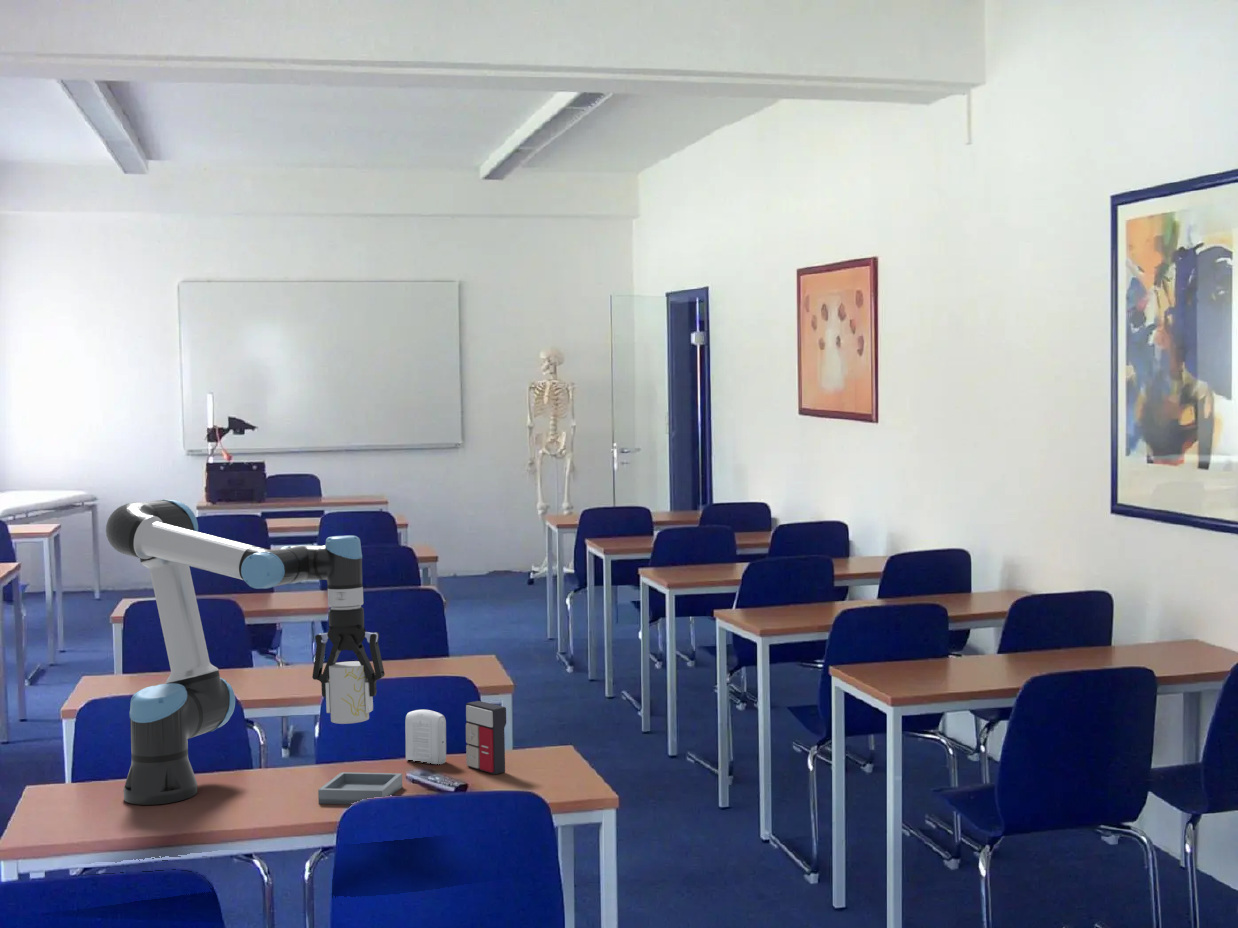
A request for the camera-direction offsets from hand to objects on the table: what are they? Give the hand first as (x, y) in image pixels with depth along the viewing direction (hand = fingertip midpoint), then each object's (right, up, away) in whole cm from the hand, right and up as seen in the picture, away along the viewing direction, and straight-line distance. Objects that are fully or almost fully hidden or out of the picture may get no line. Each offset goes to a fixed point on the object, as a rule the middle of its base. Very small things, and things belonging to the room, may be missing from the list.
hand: (349, 711), depth 282 cm
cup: (0, -2, 0) cm, 2 cm away
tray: (+3, -18, -1) cm, 18 cm away
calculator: (+28, -17, +19) cm, 38 cm away
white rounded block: (+13, -17, +27) cm, 34 cm away
